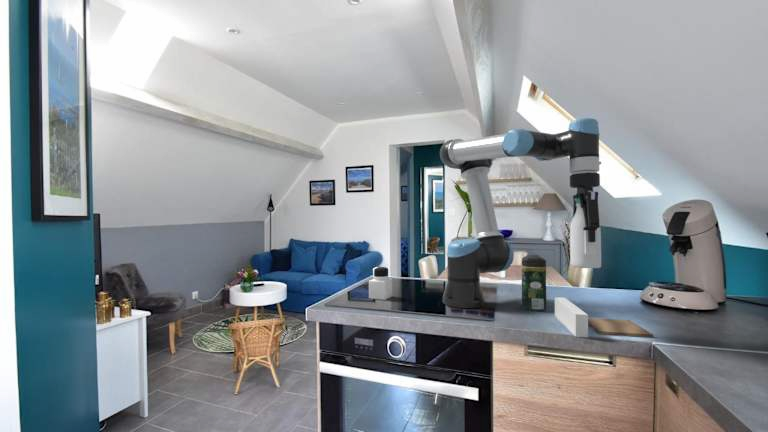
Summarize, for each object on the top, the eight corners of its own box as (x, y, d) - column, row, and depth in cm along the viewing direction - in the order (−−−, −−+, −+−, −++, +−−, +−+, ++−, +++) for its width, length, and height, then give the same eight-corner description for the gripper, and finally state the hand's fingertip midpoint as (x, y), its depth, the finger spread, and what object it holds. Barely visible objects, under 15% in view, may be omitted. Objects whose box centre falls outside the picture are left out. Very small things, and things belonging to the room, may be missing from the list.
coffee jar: (520, 303, 128) (520, 253, 128) (544, 305, 126) (544, 254, 126) (522, 310, 119) (522, 256, 119) (548, 312, 116) (547, 257, 117)
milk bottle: (604, 269, 96) (602, 196, 96) (572, 268, 98) (571, 197, 99) (598, 266, 103) (597, 198, 103) (569, 264, 106) (568, 198, 106)
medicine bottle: (392, 296, 140) (392, 266, 140) (385, 300, 134) (385, 269, 134) (376, 294, 143) (376, 265, 143) (368, 298, 137) (368, 268, 137)
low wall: (575, 336, 93) (575, 314, 93) (554, 315, 113) (554, 297, 113) (588, 337, 92) (588, 314, 92) (564, 316, 112) (564, 297, 112)
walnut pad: (599, 334, 95) (599, 331, 95) (582, 320, 108) (582, 317, 108) (653, 337, 92) (653, 334, 92) (629, 322, 105) (629, 320, 105)
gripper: (613, 167, 90) (615, 256, 90) (586, 177, 110) (587, 249, 110) (581, 168, 92) (582, 255, 91) (560, 178, 112) (561, 249, 111)
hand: (585, 252), depth 101 cm, fingers closed on milk bottle, 8 cm apart
